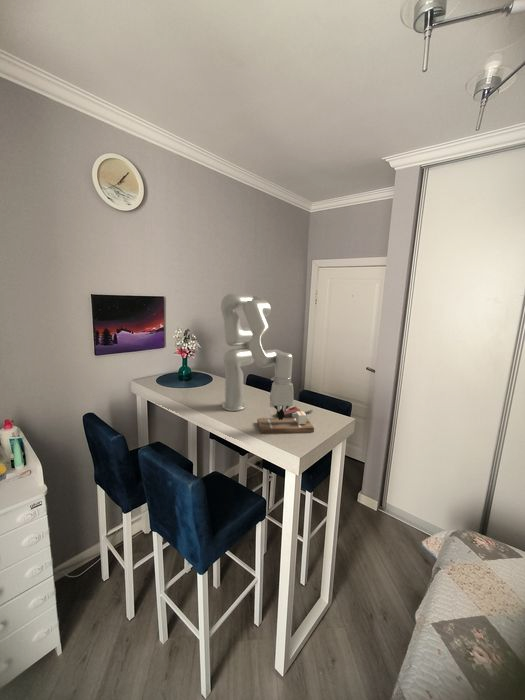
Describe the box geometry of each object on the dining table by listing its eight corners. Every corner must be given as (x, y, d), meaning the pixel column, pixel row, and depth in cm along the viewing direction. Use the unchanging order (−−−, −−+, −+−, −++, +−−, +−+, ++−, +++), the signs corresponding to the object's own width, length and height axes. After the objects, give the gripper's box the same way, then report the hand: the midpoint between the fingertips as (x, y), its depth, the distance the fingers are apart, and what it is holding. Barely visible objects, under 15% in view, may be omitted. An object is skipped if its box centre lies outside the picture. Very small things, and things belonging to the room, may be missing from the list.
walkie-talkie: (284, 422, 149) (313, 413, 161) (285, 413, 148) (314, 405, 160) (273, 416, 156) (302, 408, 168) (273, 407, 155) (302, 400, 167)
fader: (295, 419, 145) (296, 411, 144) (303, 419, 145) (303, 411, 145) (298, 424, 140) (299, 415, 139) (306, 424, 140) (306, 415, 140)
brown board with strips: (257, 422, 146) (257, 418, 146) (306, 421, 150) (306, 417, 149) (260, 433, 134) (260, 429, 134) (313, 432, 138) (314, 427, 137)
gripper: (267, 382, 133) (265, 422, 136) (301, 382, 135) (298, 421, 139) (264, 377, 140) (263, 415, 144) (296, 378, 143) (294, 415, 146)
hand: (280, 418), depth 141 cm, fingers closed
